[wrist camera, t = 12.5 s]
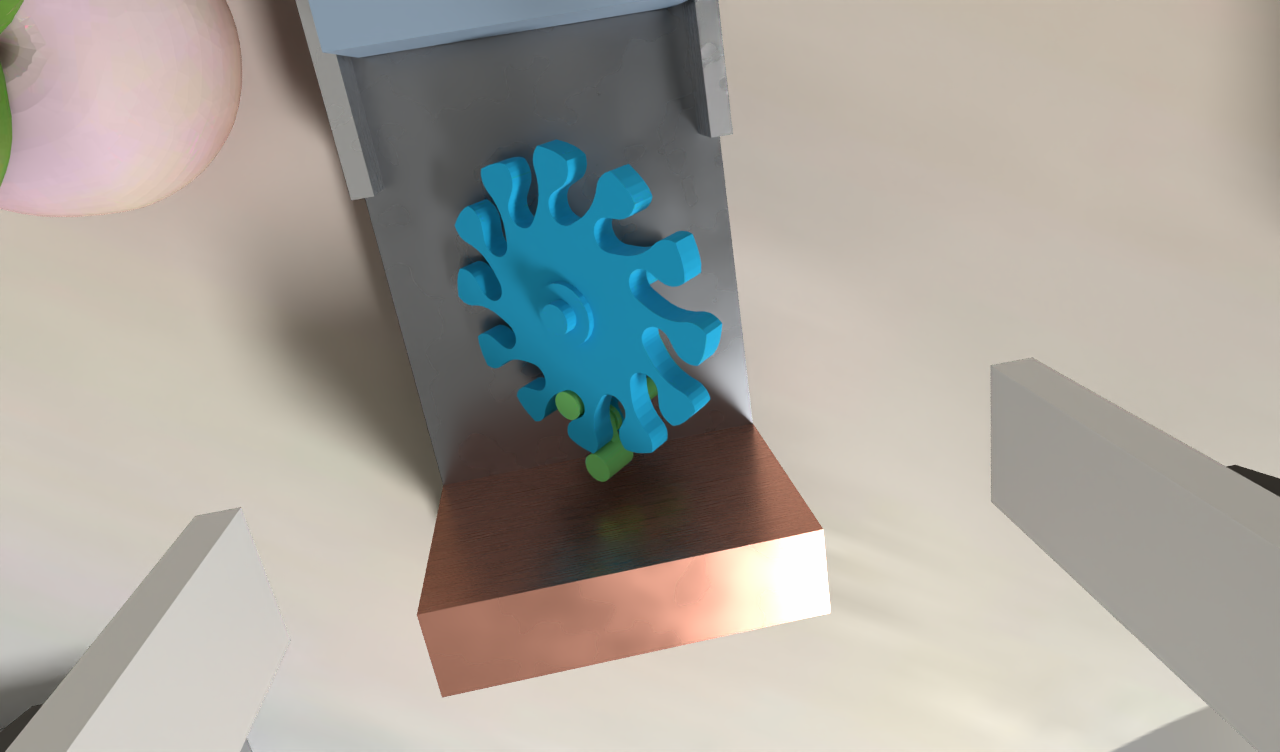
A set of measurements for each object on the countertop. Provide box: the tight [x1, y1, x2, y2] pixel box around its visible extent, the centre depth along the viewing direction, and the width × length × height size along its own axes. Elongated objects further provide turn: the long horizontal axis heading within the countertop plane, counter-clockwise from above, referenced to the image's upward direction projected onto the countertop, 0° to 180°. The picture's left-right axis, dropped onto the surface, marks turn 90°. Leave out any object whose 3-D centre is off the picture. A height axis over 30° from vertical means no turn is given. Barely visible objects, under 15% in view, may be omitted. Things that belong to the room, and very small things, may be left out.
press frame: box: [295, 0, 831, 697], centre depth 25 cm, size 12×24×10 cm, turn 9°
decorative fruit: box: [0, 0, 242, 217], centre depth 22 cm, size 9×8×10 cm
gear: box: [455, 139, 722, 482], centre depth 27 cm, size 11×6×10 cm
